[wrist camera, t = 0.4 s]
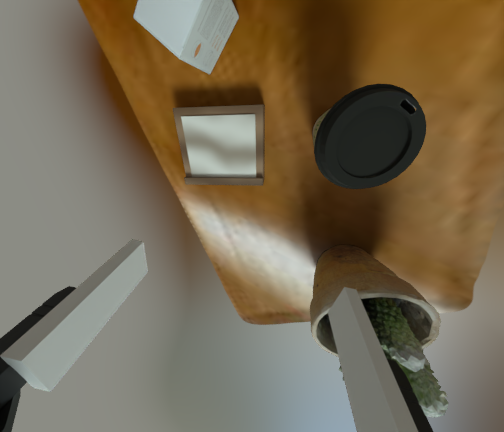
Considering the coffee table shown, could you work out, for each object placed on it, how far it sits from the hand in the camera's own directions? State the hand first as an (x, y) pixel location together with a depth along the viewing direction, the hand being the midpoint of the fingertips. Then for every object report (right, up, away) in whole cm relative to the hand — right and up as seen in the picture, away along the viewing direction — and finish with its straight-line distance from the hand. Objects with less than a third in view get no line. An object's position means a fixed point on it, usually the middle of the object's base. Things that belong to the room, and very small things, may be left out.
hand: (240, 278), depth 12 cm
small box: (-5, +30, +14) cm, 34 cm away
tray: (-4, +17, +21) cm, 27 cm away
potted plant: (+22, -7, +31) cm, 38 cm away
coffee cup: (+14, +18, +18) cm, 29 cm away
